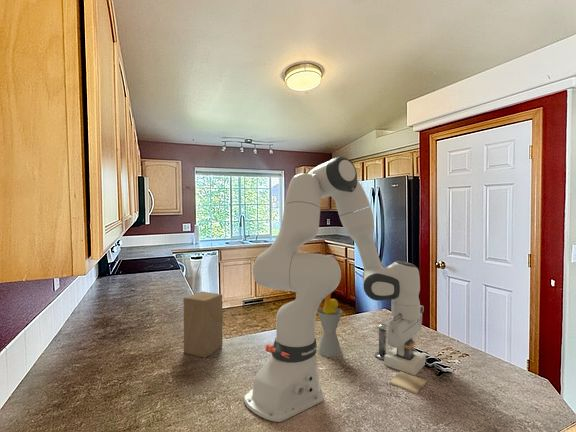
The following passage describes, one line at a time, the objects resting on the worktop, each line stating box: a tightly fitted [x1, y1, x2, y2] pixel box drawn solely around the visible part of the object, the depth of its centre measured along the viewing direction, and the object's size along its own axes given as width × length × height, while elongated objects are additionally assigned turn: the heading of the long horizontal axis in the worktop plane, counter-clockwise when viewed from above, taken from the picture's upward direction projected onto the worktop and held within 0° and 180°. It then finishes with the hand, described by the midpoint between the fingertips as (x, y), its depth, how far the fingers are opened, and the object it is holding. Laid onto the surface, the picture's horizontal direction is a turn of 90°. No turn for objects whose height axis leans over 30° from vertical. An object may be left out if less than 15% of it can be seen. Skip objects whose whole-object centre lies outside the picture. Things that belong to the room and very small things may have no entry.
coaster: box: [389, 370, 428, 395], centre depth 92 cm, size 8×8×1 cm
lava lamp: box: [317, 254, 343, 358], centre depth 112 cm, size 9×9×35 cm
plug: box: [397, 339, 416, 360], centre depth 103 cm, size 5×5×8 cm
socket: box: [383, 347, 427, 376], centre depth 103 cm, size 10×10×3 cm
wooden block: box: [183, 291, 223, 359], centre depth 113 cm, size 10×10×20 cm
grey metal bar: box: [377, 317, 394, 331], centre depth 112 cm, size 15×3×2 cm, turn 135°
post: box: [374, 329, 388, 361], centre depth 108 cm, size 5×5×10 cm
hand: (405, 351), depth 103 cm, fingers closed on plug, 4 cm apart
